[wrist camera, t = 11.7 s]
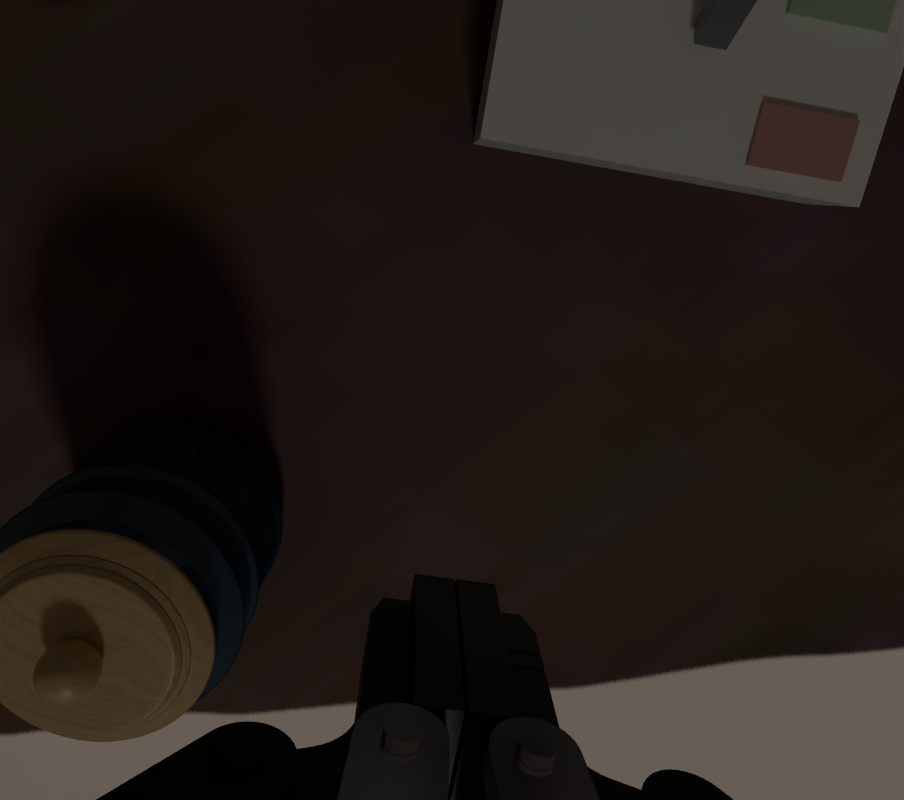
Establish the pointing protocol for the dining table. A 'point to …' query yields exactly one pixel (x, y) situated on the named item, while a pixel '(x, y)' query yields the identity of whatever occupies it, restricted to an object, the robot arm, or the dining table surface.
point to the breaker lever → (720, 22)
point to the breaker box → (698, 91)
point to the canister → (135, 580)
